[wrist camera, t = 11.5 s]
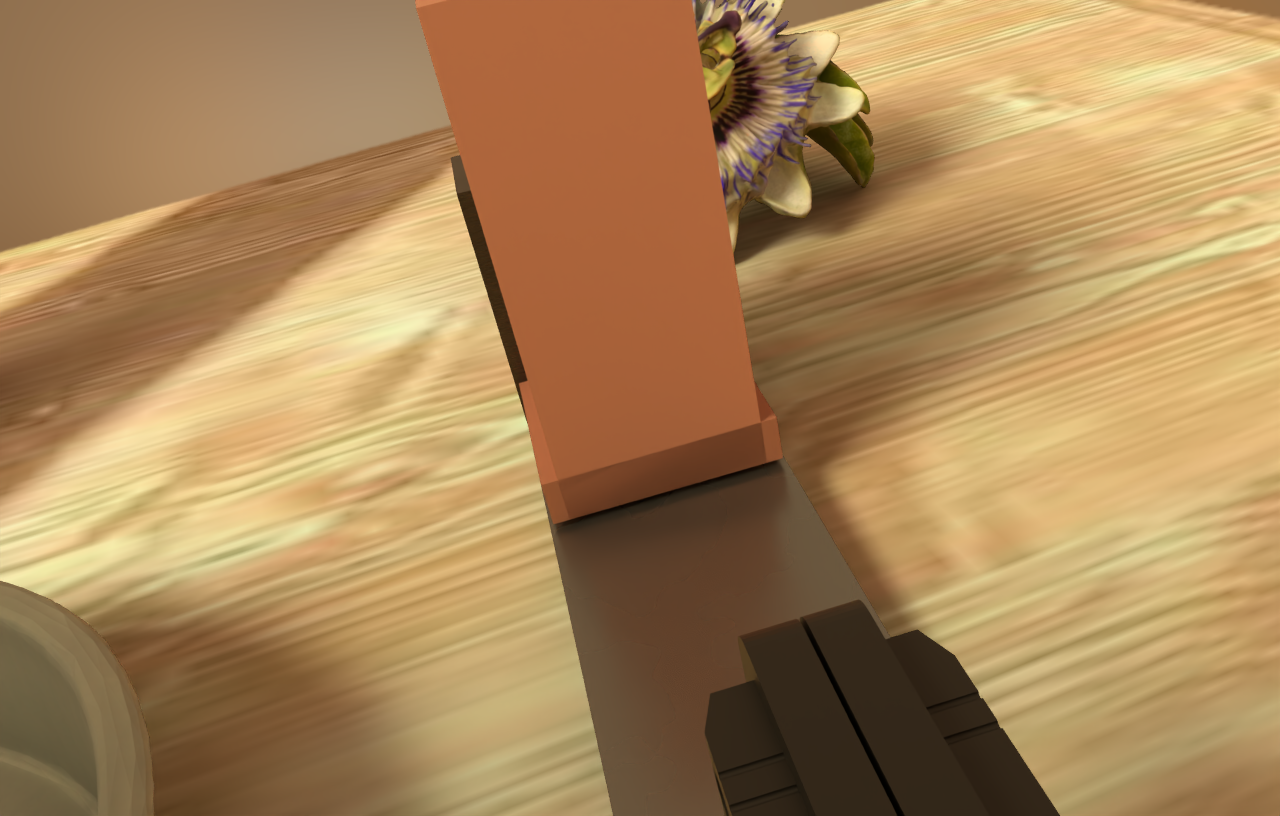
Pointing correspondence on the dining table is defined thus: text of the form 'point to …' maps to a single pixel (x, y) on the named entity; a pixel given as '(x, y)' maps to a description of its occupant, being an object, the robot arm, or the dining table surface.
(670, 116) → the block
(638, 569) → the rail
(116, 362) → the dining table surface
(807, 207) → the passion flower
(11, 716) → the cake pan
